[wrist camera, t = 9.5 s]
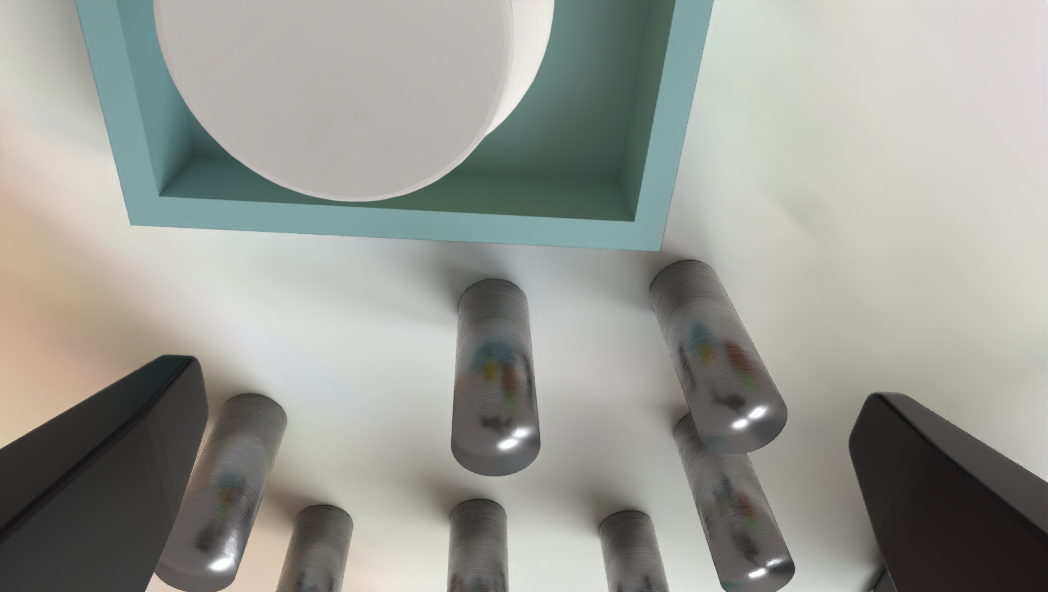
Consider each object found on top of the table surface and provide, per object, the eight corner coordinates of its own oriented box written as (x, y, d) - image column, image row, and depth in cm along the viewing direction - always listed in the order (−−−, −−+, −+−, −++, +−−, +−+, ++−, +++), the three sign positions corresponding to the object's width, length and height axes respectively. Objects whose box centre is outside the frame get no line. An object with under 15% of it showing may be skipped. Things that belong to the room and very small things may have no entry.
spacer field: (788, 265, 22) (879, 391, 17) (694, 547, 29) (738, 694, 24) (184, 235, 20) (86, 364, 15) (246, 541, 28) (194, 696, 23)
